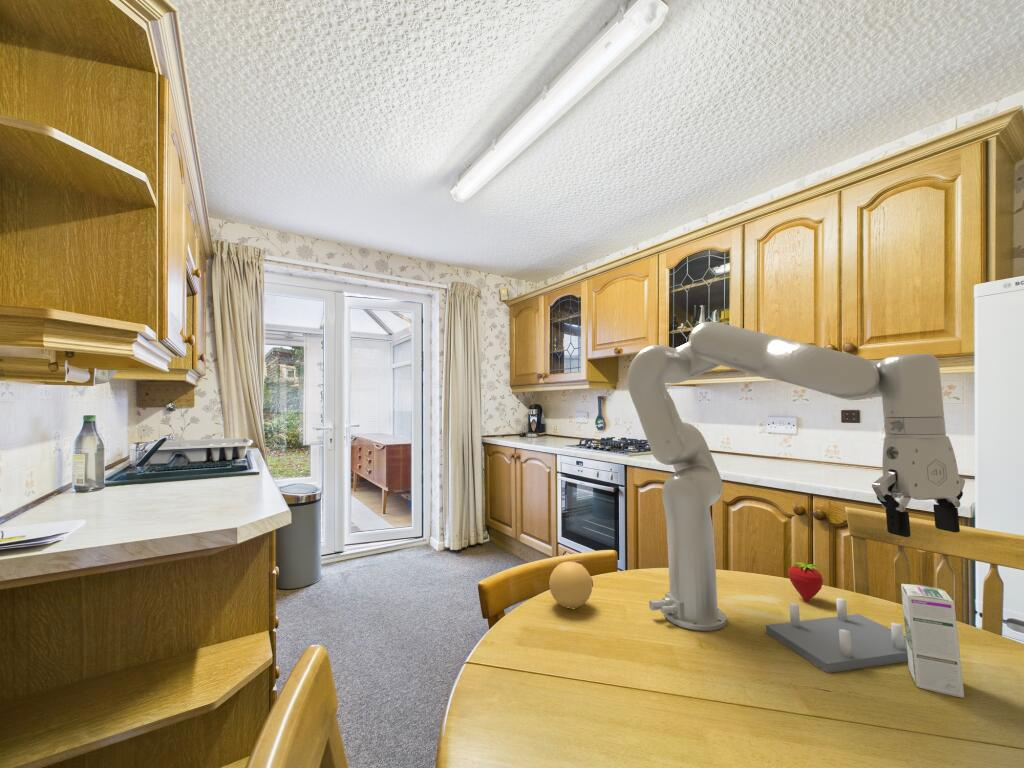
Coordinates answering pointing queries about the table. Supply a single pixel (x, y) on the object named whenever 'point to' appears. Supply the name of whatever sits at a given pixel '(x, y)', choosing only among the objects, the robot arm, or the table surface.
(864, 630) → the plate
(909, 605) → the syrup box
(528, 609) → the table surface
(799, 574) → the strawberry
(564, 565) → the stress ball
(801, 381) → the robot arm
